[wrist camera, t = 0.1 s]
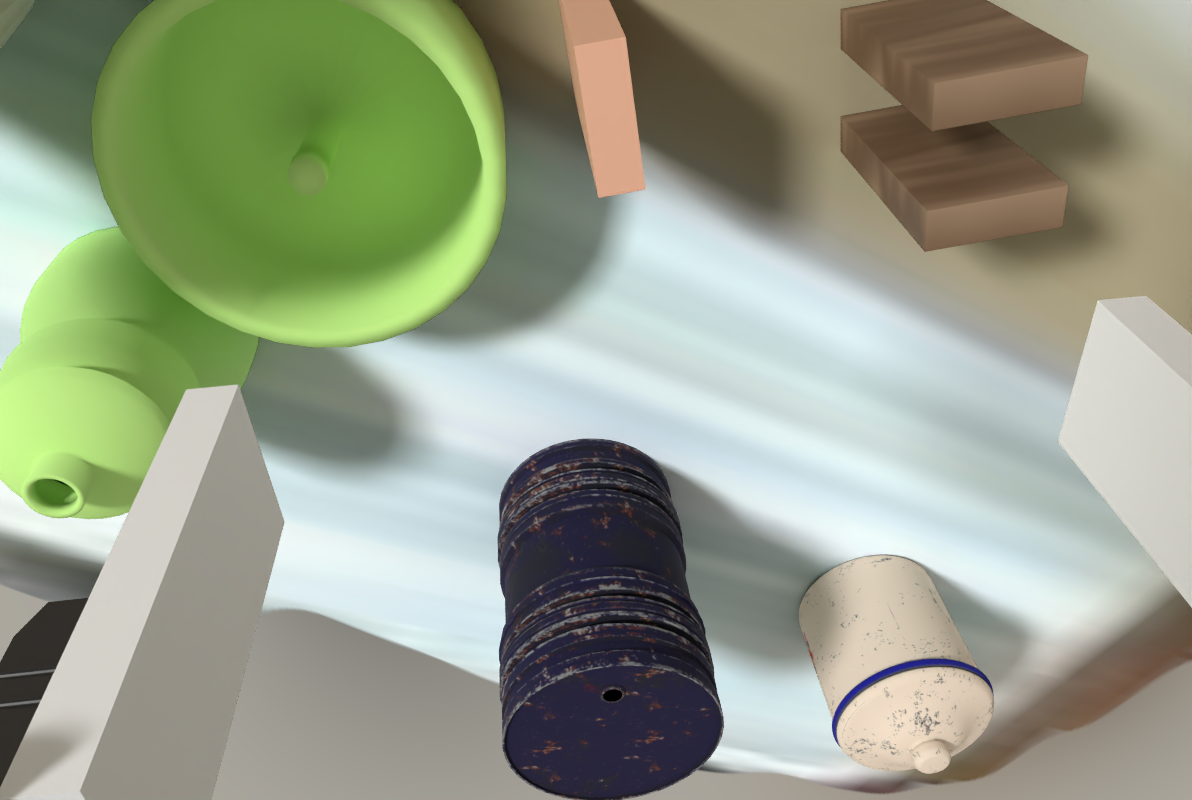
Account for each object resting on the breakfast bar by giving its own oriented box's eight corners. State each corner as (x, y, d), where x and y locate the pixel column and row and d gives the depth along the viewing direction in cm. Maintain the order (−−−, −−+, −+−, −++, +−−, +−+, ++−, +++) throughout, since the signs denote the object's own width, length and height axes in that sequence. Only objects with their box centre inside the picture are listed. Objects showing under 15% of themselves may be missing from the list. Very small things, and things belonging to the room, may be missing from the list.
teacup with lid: (764, 625, 60) (816, 792, 51) (854, 530, 56) (928, 693, 47) (904, 674, 64) (975, 837, 55) (997, 590, 60) (1091, 749, 51)
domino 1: (575, 102, 40) (598, 198, 32) (555, -24, 37) (573, 46, 29) (613, 95, 40) (645, 189, 32) (595, -32, 37) (625, 36, 29)
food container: (290, -164, 34) (203, -117, 23) (574, 121, 40) (604, 253, 30) (-53, 287, 42) (-226, 465, 32) (230, 458, 49) (162, 650, 39)
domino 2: (840, 8, 39) (934, 83, 30) (961, -14, 38) (1088, 55, 30) (840, 48, 39) (932, 131, 31) (958, 27, 39) (1080, 104, 31)
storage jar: (670, 562, 56) (720, 791, 44) (505, 576, 56) (509, 813, 43) (673, 429, 50) (732, 650, 38) (489, 443, 50) (489, 673, 38)
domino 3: (840, 116, 41) (927, 211, 33) (953, 95, 41) (1068, 185, 33) (840, 151, 42) (924, 251, 34) (951, 131, 42) (1062, 227, 34)
